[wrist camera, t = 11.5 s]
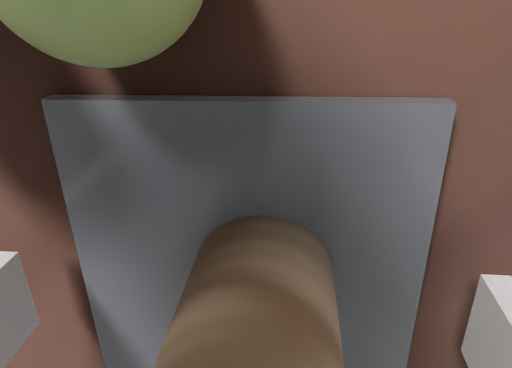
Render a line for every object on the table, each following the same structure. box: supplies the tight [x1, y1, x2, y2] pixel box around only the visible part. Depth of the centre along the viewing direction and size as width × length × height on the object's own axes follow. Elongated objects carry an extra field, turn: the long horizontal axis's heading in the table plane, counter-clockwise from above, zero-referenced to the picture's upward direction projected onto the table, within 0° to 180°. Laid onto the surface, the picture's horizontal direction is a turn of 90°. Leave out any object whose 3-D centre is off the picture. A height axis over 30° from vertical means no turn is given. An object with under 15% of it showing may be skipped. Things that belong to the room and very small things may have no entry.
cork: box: [154, 215, 344, 368], centre depth 10 cm, size 4×4×7 cm
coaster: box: [41, 94, 457, 368], centre depth 14 cm, size 11×11×1 cm
